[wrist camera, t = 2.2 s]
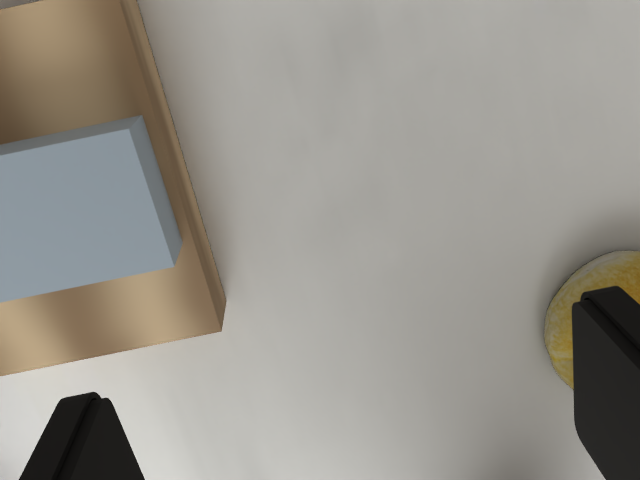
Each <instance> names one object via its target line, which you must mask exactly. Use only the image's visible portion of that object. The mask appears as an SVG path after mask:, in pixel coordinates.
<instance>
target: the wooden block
mask: <svg viewBox="0 0 640 480" xmlns="http://www.w3.org/2000/svg"><path fill="white" fill-rule="evenodd" d="M139 115H142V116H143V119H144V122H145V125H146V128H147V132H148V135H149V138H150V141H151V144H152V147H153V150H154V154H155V157H156V160H157V163H158V166H159V169H160V172H161V176H162V179H163V182H164V185H165V188H166V191H167V194H168V198H169V201H170V204H171V207H172V210H173V213H174V216H175V220H176V223H177V226H178V229H179V232H180V235H181V238H182V242H183V244H182V247H181V249H180V252H179V255H178V258H177V261H176V264H175V266H174V267H171V268H166V269H161V270H156V271H152V272H147V273H142V274H137V275H132V276H127V277H122V278H118V279H113V280H108V281H103V282H98V283H93V284H88V285H83V286H79V287H74V288H69V289H64V290H59V291H54V292H49V293H45V294H40V295H35V296H30V297H25V298H20V299H15V300H10V301H6V302H1V303H0V376H4V375H9V374H14V373H19V372H24V371H29V370H34V369H38V368H43V367H48V366H53V365H58V364H63V363H68V362H73V361H78V360H83V359H88V358H93V357H98V356H102V355H107V354H112V353H117V352H122V351H127V350H132V349H137V348H142V347H147V346H152V345H157V344H162V343H166V342H171V341H176V340H181V339H186V338H191V337H196V336H201V335H206V334H211V333H216V332H221V331H222V325H223V319H224V313H225V306H226V299H225V295H224V292H223V289H222V285H221V282H220V279H219V275H218V272H217V268H216V265H215V262H214V258H213V255H212V252H211V248H210V245H209V242H208V238H207V235H206V232H205V228H204V225H203V222H202V218H201V215H200V211H199V208H198V205H197V201H196V198H195V195H194V191H193V188H192V185H191V181H190V178H189V175H188V171H187V168H186V165H185V161H184V158H183V155H182V151H181V148H180V144H179V141H178V138H177V134H176V131H175V128H174V124H173V121H172V118H171V114H170V111H169V108H168V104H167V101H166V98H165V94H164V91H163V87H162V84H161V81H160V77H159V74H158V71H157V67H156V64H155V61H154V57H153V54H152V51H151V47H150V44H149V41H148V37H147V34H146V30H145V27H144V24H143V20H142V17H141V14H140V10H139V7H138V4H137V0H42V1H37V2H33V3H28V4H23V5H19V6H14V7H9V8H5V9H0V145H1V144H6V143H11V142H15V141H20V140H25V139H30V138H34V137H39V136H44V135H49V134H53V133H58V132H63V131H68V130H72V129H77V128H82V127H87V126H92V125H96V124H101V123H106V122H111V121H115V120H120V119H125V118H130V117H134V116H139Z"/></svg>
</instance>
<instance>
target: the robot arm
mask: <svg viewBox="0 0 640 480" xmlns="http://www.w3.org/2000/svg"><path fill="white" fill-rule="evenodd" d="M572 344H573V384H574V420H575V427H576V430H577V434H578V436H579V438H580V440H581V442H582V444H583V445H584V447H585V448H586V450H587V452H588V453H589V455H590V456H591V458H592V459H593V461H594V462H595V464H596V465H597V467H598V468H599V470H600V471H601V473H602V475H603V476H604V478H605V479H606V480H640V304H639V303H637V302H636V301H635V300H634V299H633V298H632V297H631V296H630V295H629V294H628V293H626V292H625V291H624V290H623V289H622V288H620V287H619V286H611V287H606V288H601V289H596V290H591V291H586V292H584V293H582V295H581V298H580V301H579V302H575V303H573V305H572ZM19 480H145V479H144V477H143V474H142V472H141V470H140V467H139V465H138V463H137V460H136V458H135V456H134V453H133V451H132V449H131V446H130V444H129V442H128V439H127V437H126V434H125V432H124V430H123V427H122V425H121V423H120V420H119V418H118V416H117V413H116V411H115V409H114V406H113V404H112V402H111V401H110V400H109V399H108V398H102V399H101V397H100V395H98V394H97V393H96V392H91V393H86V394H81V395H76V396H71V397H66V398H63V399H61V400H60V401H59V403H58V404H57V406H56V408H55V410H54V412H53V414H52V416H51V418H50V420H49V422H48V424H47V426H46V428H45V430H44V432H43V434H42V435H41V437H40V439H39V441H38V443H37V445H36V447H35V449H34V451H33V453H32V455H31V457H30V459H29V461H28V463H27V465H26V467H25V469H24V471H23V473H22V475H21V477H20V479H19Z"/></svg>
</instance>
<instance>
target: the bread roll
mask: <svg viewBox="0 0 640 480" xmlns="http://www.w3.org/2000/svg"><path fill="white" fill-rule="evenodd" d="M611 286H619V287H620V288H622V289H623V290H624V291H625V292H626V293H628V294H629V295H630V296H631V297H632V298H633V299H634V300H635V301H636V302H637V303H639V304H640V251H615V252H611V253H608V254H605V255H602V256H600V257H598V258H596V259H594V260H592V261H591V262H589V263H587V264H586V265H584V266H583V267H581V268H580V269H579V270H577V271H576V272H575V273H574V274H573V275H572V276H571V277H570V278H569V279H568V280H567V281H566V282H565V284H564V285H563V286H562V287H561V289H560V290H559V291H558V293H557V294H556V295H555V297H554V298H553V300H552V301H551V303H550V305H549V308H548V310H547V313H546V318H545V327H544V333H545V338H544V339H545V344H546V347H547V350H548V352H549V355H550V358H551V362H552V365H553V367H554V369H555V371H556V373H557V374H558V375H559V376H560V378H561V379H562V380H563V381H564V382H565V383H566V384H567V385H569V386H570V387H571V388H572V389H573V390H574V384H573V344H572V305H573V303H575V302H579V301H580V298H581V295H582V293H584V292H586V291H591V290H596V289H601V288H606V287H611Z"/></svg>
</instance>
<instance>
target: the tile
mask: <svg viewBox="0 0 640 480" xmlns="http://www.w3.org/2000/svg"><path fill="white" fill-rule="evenodd" d="M182 244H183V242H182V238H181V235H180V232H179V229H178V226H177V223H176V220H175V216H174V213H173V210H172V207H171V204H170V201H169V198H168V194H167V191H166V188H165V185H164V182H163V179H162V176H161V172H160V169H159V166H158V163H157V160H156V157H155V154H154V150H153V147H152V144H151V141H150V138H149V135H148V132H147V128H146V125H145V122H144V119H143V116H142V115H139V116H134V117H130V118H125V119H120V120H115V121H111V122H106V123H101V124H96V125H92V126H87V127H82V128H77V129H72V130H68V131H63V132H58V133H53V134H49V135H44V136H39V137H34V138H30V139H25V140H20V141H15V142H11V143H6V144H1V145H0V303H1V302H6V301H10V300H15V299H20V298H25V297H30V296H35V295H40V294H45V293H49V292H54V291H59V290H64V289H69V288H74V287H79V286H83V285H88V284H93V283H98V282H103V281H108V280H113V279H118V278H122V277H127V276H132V275H137V274H142V273H147V272H152V271H156V270H161V269H166V268H171V267H174V266H175V264H176V261H177V258H178V255H179V252H180V249H181V247H182Z"/></svg>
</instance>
